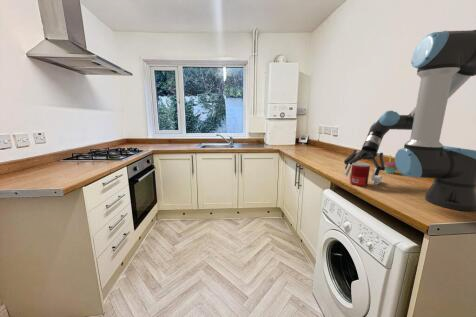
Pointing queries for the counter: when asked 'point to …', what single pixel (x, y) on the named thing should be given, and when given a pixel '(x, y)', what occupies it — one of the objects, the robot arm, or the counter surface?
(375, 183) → the channel
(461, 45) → the robot arm
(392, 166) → the cupcake
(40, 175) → the counter surface
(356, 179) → the canned food
